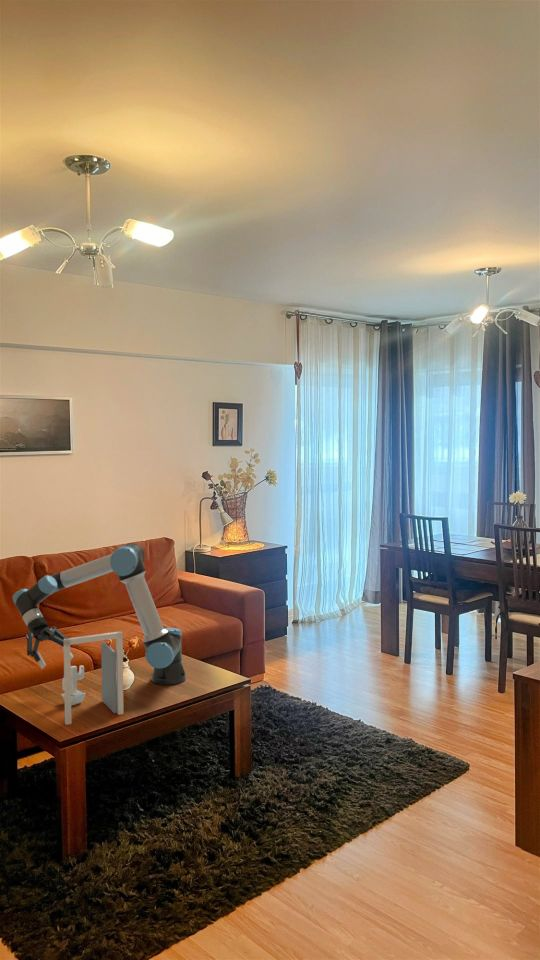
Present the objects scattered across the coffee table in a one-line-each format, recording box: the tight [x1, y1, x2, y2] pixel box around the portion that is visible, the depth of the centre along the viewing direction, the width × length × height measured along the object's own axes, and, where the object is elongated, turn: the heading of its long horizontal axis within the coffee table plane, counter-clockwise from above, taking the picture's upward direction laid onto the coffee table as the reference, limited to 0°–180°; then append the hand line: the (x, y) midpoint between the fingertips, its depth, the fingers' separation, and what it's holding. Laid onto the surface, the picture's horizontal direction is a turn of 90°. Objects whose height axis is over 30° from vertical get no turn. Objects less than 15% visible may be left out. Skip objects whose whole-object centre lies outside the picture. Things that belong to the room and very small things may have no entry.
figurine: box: [60, 665, 87, 706], centre depth 281 cm, size 7×9×15 cm
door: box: [100, 641, 117, 714], centre depth 276 cm, size 16×3×24 cm, turn 29°
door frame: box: [63, 631, 125, 726], centre depth 264 cm, size 22×2×32 cm, turn 119°
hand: (57, 662), depth 287 cm, fingers open, 13 cm apart
